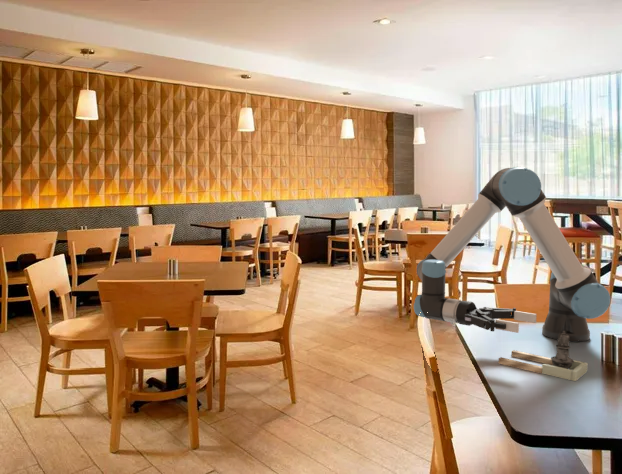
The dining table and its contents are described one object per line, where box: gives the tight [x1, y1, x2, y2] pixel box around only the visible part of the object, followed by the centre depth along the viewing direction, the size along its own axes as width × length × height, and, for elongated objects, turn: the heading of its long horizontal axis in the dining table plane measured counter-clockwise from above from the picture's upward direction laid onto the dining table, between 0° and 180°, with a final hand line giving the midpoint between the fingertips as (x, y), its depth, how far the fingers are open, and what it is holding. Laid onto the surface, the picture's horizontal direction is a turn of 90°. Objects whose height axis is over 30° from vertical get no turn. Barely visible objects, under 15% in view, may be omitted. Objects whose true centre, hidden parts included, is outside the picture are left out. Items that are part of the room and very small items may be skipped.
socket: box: [541, 359, 589, 382], centre depth 155 cm, size 9×10×2 cm
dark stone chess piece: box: [551, 331, 575, 369], centre depth 155 cm, size 6×6×12 cm
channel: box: [498, 349, 554, 375], centre depth 162 cm, size 12×11×2 cm
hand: (527, 323), depth 161 cm, fingers open, 13 cm apart
